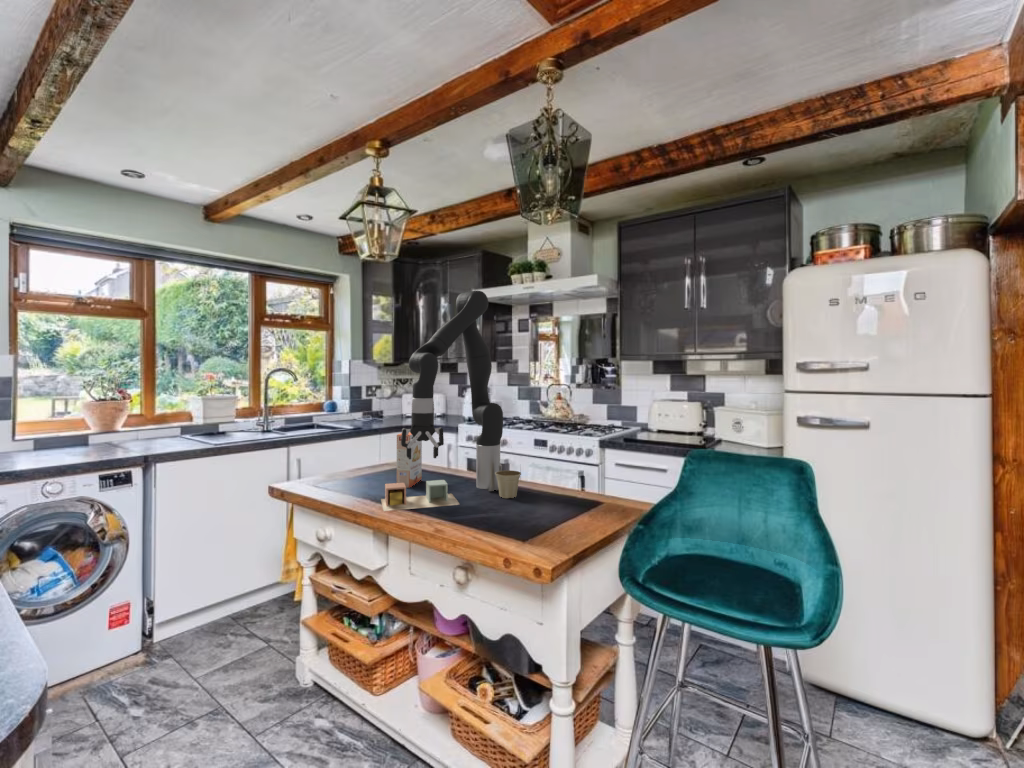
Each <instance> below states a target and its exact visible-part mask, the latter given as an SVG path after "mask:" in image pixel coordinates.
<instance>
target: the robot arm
mask: <svg viewBox="0 0 1024 768" xmlns="http://www.w3.org/2000/svg"><path fill="white" fill-rule="evenodd" d="M455 307H456V313H457V314H456V315H455V316H453V317H452V318H451V319H450V320H448V321H447V322H446V323H444V324H443V325H442V326H440V327H439V328H438V329H437V330H436V331H435V333H434V334H433V335H432V336H431V337H430V339H428V341H427V342H425V343H424V344H423V345H421V346H420V347H419V348H418V349H416V350H415V351H414V352H413V353H412V354H411V355H410V358H409V360H408V366H409V369H410V370H411V371H412V372H413V373H416V374H419V376H418V377H419V378H418V380H415V381H413V384H412V400H411V427H410V428H404V427H403V428H402V429H401V433H402V436H401V445H402V446H403V447H406V448H407V454H406V456H407V458H408V459H411V446H412V445H413V444H414V443H415V441H416V440H417V441H422V442H428V441H430V442H431V443H432V445H433V447H432V448H433V450H432V451H433V453H432V455H433V458H434V459H437V457H439V448H440V447H441V446H444V445H445V443H444V441H445V439H444V428H443V427H440V426H439V427H437V428H435V425H434V422H435V399H434V385H435V382H436V379H437V374H438V371H439V370H438V369H439V361H438V357H442V356H443V355H445V354H446V352H447V351H448V350H449V349H450V347H451V346H452V345H453V344H454V343H455V342H456V340H457V339H458V338H459V337H460V336H461V335H462V339H463V344H464V345H463V346H464V350H465V351H464V352H465V353H464V354H465V359H466V366H467V372H468V379H469V386H470V394H471V395H470V396H471V397H470V398H471V413H472V418H473V421H474V422H475V423H476V424H477V425H479V426H481V429H482V430H481V433H480V435H477V436H476V441H475V444H476V445H475V447H476V449H475V450H476V453H475V454H476V455H475V456H476V458H475V463H476V466H475V467H476V469H475V471H476V473H475V476H476V479H475V480H476V481H475V485H476V488H477V489H480V490H486V491H487V492H495V491H494V490H496V491H499V488H498V480H497V477H496V474H495V473H496V472H498V471H503V464H501V440H502V437H503V431H504V430H503V429H504V412H503V408H502V407H501V405H499V404H498V403H496V402H491V401H490V397H489V388H488V387H489V381H490V378H491V373H492V368H493V367H492V359H491V357H492V356H491V351H490V348H489V346H488V344H487V342H486V341H485V339H484V337H483V336H482V335H481V333H480V331H479V327H478V324H477V320H478V318H480V317H481V316H483V314H485V312H486V311H487V310H488V307H489V298H488V296H487V294H486V293H485V292H483V291H481V290H469V291H465V292H462V293H460V294H459V293H458V295H457V297H456V301H455ZM409 432H410V433H411V434H412V435H413V436H412V438H411V439H410V441H409V442H408V443H406V435H408V433H409ZM435 433H436V434H437V435H438V441H436V439H435V438H434V435H435Z"/></svg>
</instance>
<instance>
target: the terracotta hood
mask: <svg viewBox="0 0 1024 768" xmlns="http://www.w3.org/2000/svg"><path fill="white" fill-rule="evenodd" d="M389 490H401V491H402V500H403V502H404V504H405V505H406V497H407V488H406V486H405V484H404V483H397V482H393V483H385V484H384V499H385V502H386V506H388V501H389Z"/></svg>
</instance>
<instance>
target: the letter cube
mask: <svg viewBox="0 0 1024 768" xmlns="http://www.w3.org/2000/svg"><path fill="white" fill-rule="evenodd" d="M389 503H390V505H398V504H402V491H401V490H389Z"/></svg>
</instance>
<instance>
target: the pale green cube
mask: <svg viewBox="0 0 1024 768" xmlns="http://www.w3.org/2000/svg"><path fill="white" fill-rule="evenodd" d="M448 489H449V488H448V483H447V481H446V480H445V479H436V480H425V493H426V494H425V496H426V498H427V500H428V502H429V503H430V498H437V497H444V499H445V500H446V501H448V494H449V493H448V491H449V490H448Z"/></svg>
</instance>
